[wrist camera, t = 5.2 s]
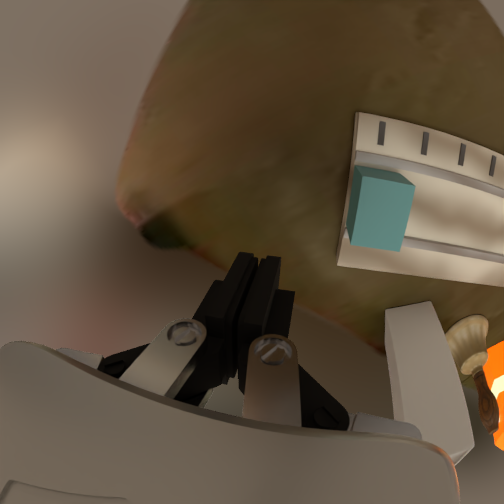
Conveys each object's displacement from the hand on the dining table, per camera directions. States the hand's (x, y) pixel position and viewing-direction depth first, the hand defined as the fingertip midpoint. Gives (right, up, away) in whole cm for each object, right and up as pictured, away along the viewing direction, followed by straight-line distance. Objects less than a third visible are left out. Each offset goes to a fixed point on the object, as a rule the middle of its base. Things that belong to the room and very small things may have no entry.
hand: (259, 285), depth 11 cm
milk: (+19, -7, +18) cm, 27 cm away
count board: (+20, +6, +10) cm, 23 cm away
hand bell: (+29, -10, +17) cm, 35 cm away
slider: (+10, +6, +10) cm, 15 cm away
